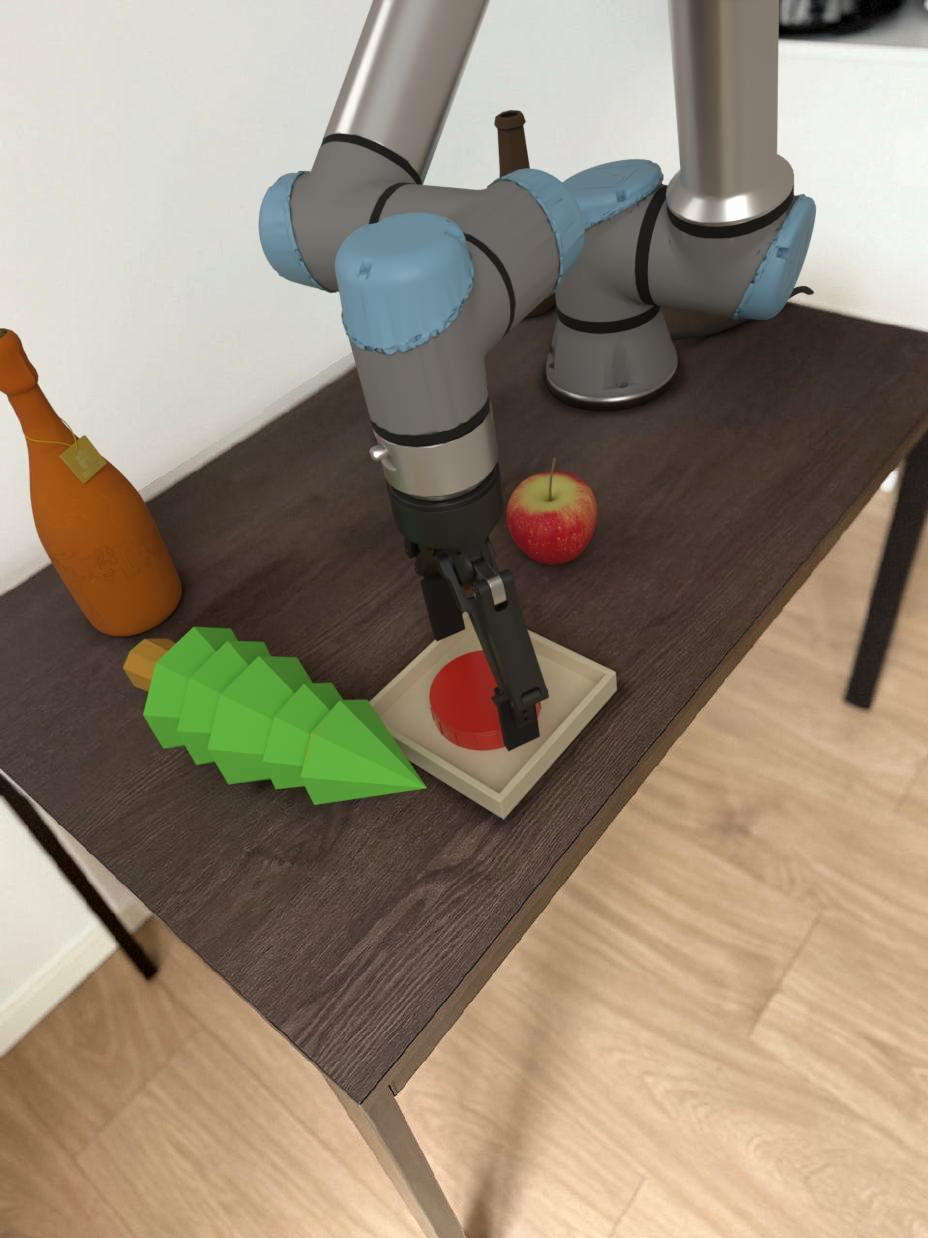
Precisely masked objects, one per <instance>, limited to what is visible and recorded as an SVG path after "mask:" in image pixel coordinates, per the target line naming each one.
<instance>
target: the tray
mask: <svg viewBox="0 0 928 1238" xmlns="http://www.w3.org/2000/svg"><path fill="white" fill-rule="evenodd" d="M462 615H463V620H464V625H465V630H463V631H460V632H458V633H456V634H453V635H451V636H449V637H447V638H444V639H442V640H440V641H436V640H435V639H434V640H433V641H432V642H431V643H430V644H429V645H427V647H426V648H425V649H424V650H423V651H421V652H420V653H419V654H418V655H417V656H416V657H415V658H414V659H413V660H412V661H411V662H409V663H408V664H407V665H406V666H405V668H404V669H402V670H401V671H400V672H399V673H398V674H396V676H395V677H394V678H393V679H392V680H391V681H390V682H388V683H387V684H386V685H385V686H384V687H383V688H382V689H381V690H380V691H379V692H378V693H376V695H375V696H374V697H373V698H371V699H370V700H369V703H370V704H371V706H372V707H373V709H374V710H375V712H376V713H377V715H378V716H379V718H380V719H381V721H382V722H383V724H384V725H385V727H386V728H387V730H388V731H389V733H390V734H391V736H392V737H393V739H394V740H395V741H396V743H397V744H398V746H399V747H400V749H401V750H402V752H403V753H404V755H405V756H406V758H407V759H408V761H409V762H410V763H411V764H414V765H415V766H417V767H419V768H420V769H422V770H423V771H425V772H427V773H428V774H430V775H431V776H433V777H435V778H436V779H437V780H440V781H441V782H443V783H444V784H446V785H448V786H449V787H451V788H452V789H454V790H456V791H457V792H458V793H460V794H462V795H464V796H465V797H467V798H469V800H472V801H473V802H475V803H476V804H478V805H480V806H481V807H483V808H484V809H486V810H487V811H489V812H491V813H492V814H494V815H496V816H497V817H499V818H501V819H502V820H505V819H506V818H507V816H508V815H510V814H511V812H512V811H513V810H514V809H515V807H516V806H517V805H518V804H519V803H520V802H521V800H522V799H524V797H525V796H526V795H527V794H528V793H529V791H530V790H531V789H532V788H533V787H534V786H535V785H536V783H537V782H538V781H539V780H540V779H541V778H542V776H543V775H545V773H546V772H547V771H548V770H549V769H550V768H551V766H552V765H553V764H554V763H555V762H556V761H557V760H558V759H559V757H560V756H561V755H562V754H563V752H565V750H566V749H567V748H568V747H569V746H570V745H571V744H572V742H573V741H574V740H575V739H576V738H577V737H578V736H579V734H580V733H581V732H582V731H583V730H584V729H585V728H586V726H587V725H588V724H589V723H590V722H591V721H592V719H593V718H594V717H595V716H596V715H597V714H598V713H599V711H600V710H601V709H602V708H603V707H604V706H605V704H607V703H608V701H609V700H610V699H611V698H612V697H613V696H614V695H615V693H616V692H617V690H618V685H617V681H618V680H617V672H616V671H615V670H613V669H610V668H609V667H607V666H604V665H602V664H600V663H598V662H596V661H594V660H592V659H590V658H588V657H585V656H584V655H581V654H579V653H577V652H575V651H573V650H571V649H569V648H567V647H565V646H563V645H561V644H558V643H557V642H555V641H552V640H550V639H549V638H546V637H544V636H542V635H540V634H538V633H536V632H533V631H531V630H529V629H527V630H528V633H529V636H530V639H531V642H532V645H533V648H534V651H535V654H536V657H537V660H538V663H539V666H540V669H541V672H542V675H543V679H544V682H545V685H546V687H547V689H548V694H549V698H547V699H545V700H543V701H541V709H540V714H539V717H538V725H539V732H540V737H538V738H536V739H534V740H532V741H530V742H528V743H526V744H523V745H521V746H519V747H517V748H515V749H513V750H511V751H509V752H508V750H507V749H506V747H503V748H499V749H494V750H485V751H477V750H470V749H466V748H462V747H459V746H457V745H455V744H453V743H452V742H450V741H449V740H447V739H446V738H445V737H444V736H443V735H441V733H440V731H439V730H438V728H437V726H436V724H435V721H434V720H433V717H432V713H431V709H430V707H431V705H430V699H429V694H430V688H431V684H432V682H433V680H434V678H435V677H436V675H437V674H438V672H439V671H440V670H441V669H442V668H443V667H444V666H445V665H446V664H448V663H449V662H450V661H452V660H454V659H455V658H457V657H459V656H461V655H464V654H467V653H470V652H474V651H479V650H483V649H482V647H481V644H480V642H479V640H478V637H477V635H476V632H475V630H474V627H473V625H472V622H471V620H470V618H469V615H468V613H467V612H464V611H463V612H462Z"/></svg>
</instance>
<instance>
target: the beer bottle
mask: <svg viewBox="0 0 928 1238" xmlns="http://www.w3.org/2000/svg"><path fill="white" fill-rule="evenodd" d="M526 123H527V121H526V118H525V114H524V113H523V111H521V110H518V109H509V110H504V111H502V112H500V113H498V114H497V115H496V116H495V117H494V123H493V125H494V127H495V128H496V130H497V147H498V149H497V151H498V167H499V168H498V169H499V174H498V175H499V176H498V178H501V177H503V176H506V175H507V174H509V173H512V172H514V171H516V170H519V169H531V167H530V160H529V154H528V153H529V152H528V145H527V139H526V133H525V127H524V125H525V124H526ZM554 305H556V296H555V292H554V293H553V294H552V295H551V296H549V297H548V298H545V299H544V300H543V301H542V302H541V303H540V304H539V305H538V306H537V307H535V308H534V309H533V310H532V311H531V312H530V313H529V314H528V315H527V316H526V317H525V318H524V319H526V318H527V319H528V318H531V317H535V316H539V315H545V314H546V313H547V312H548V311H549V310H551V308H552V307H553V306H554Z"/></svg>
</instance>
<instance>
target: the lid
mask: <svg viewBox="0 0 928 1238" xmlns="http://www.w3.org/2000/svg"><path fill="white" fill-rule="evenodd" d="M496 687H498V686H497V683H496V681H495V679H494V676H493V674H492V671H491V669H490V666H489V664H488V661H487V659H486V657H485V654H484V652H483V650H479V651H474V652H470V653H467V654H464V655H461V656H459V657H457V658H455V659H454V660H452V661H450V662H449V663H448V664H446V665H445V666H444V667H443V668H442V669H441V670H440V671H439V672H438V674H437V675H436V677H435V678H434V680H433V682H432V684H431V688H430V694H429V699H430V705H431V707H430V709H431V713H432V717H433V720H434V721H435V724H436V726H437V728H438V730H439V731H440V733H441V735H443V736H444V737H445V738H446V739H447V740H449V741H450V742H452V743H453V744H455V745H457V746H459V747H462V748H466V749H470V750H477V751H485V750H494V749H499V748H503V747H505V745H504V742H503V737H502V731H501V726H500V720H499V715H498V710H497V706H496V705H495V704H494V703H493V701H492V699H491V697H492V696H495V694H494V688H496ZM540 709H541V702H539V703H537V704H536V711H537V718H538V717H539V714H540Z"/></svg>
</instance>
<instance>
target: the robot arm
mask: <svg viewBox="0 0 928 1238" xmlns="http://www.w3.org/2000/svg"><path fill="white" fill-rule="evenodd" d="M490 2H491V0H372V2H371V5H370V7H369V10H368V12H367V16H366V18H365V21H364V24H363V26H362V29H361V33H360V34H359V38H358V41H357V44H356V46H355V49H354V52H353V55H352V57H351V60H350V62H349V65H348V68H347V71H346V74H345V77H344V79H343V81H342V82H343V83H342V84H341V88H340V90H339V94H338V96H337V99H336V101H335V104H334V107H333V110H332V112H331V115H330V118H329V121H328V124H327V126H326V130H325V131H324V134H323V138H322V141H321V144H320V146H319V148H318V151H317V153H316V156H315V159H314V161H313V165H312V167H311V170H298V171H297V172H289V173H285V174H283V175H281V176H280V177H279V178H277V180H276V181H275V182H274V183H273V184H272V185H271V186H269V187H268V188H267V190H266V191H265V194H264V195H263V198H262V201H261V204H260V208H259V213H258V224H257V225H258V227H257V228H258V235H259V241H260V245H261V249H262V252H263V255H264V257H265V258H266V261H267V262H268V264H269V265H270V266H271V268H272V269H273V270H274V271H275V272H276V273H277V274H278V276H279V277H281V278H283V279H285V280H287V281H289V282H291V283H295V284H298V285H302V286H305V287H309V288H314V289H318V290H320V291H322V292H323V291H324V292H326V293H329V294H337V293H338V294H339V301H340V306H341V313H340V314H341V315H340V317H341V323H342V326H343V328H344V331H345V335H346V336H347V338H348V341H349V345H350V349H351V351H352V355H353V360H354V363H355V367H356V370H357V374H358V379H359V382H360V386H361V388H362V393H363V396H364V401H365V404H366V408H367V411H368V416H369V420H370V424H371V426H372V431H373V435H374V437H375V439H376V443H377V445H374V446H372V447H370V448H369V451H368V452H369V454H370V458H371V460H372V461H374V462H380V463H381V467H382V471H383V474H384V475H383V476H384V478H385V480H386V491H387V496H388V499H389V503H390V507H391V511H392V515H393V519H394V522H395V525H396V528H397V530H398V531H399V532H400V533H401V535H402V536H403V537H404V543H403V544H404V553H405V554H406V556H407V557H408V558H409V559H413V558H415V561H414V564H413V565H414V571H415V573H416V574H417V575H418V576H419V577H420V578H421V577H423V579H421V580H419V583H420V587H421V590H422V594H423V600H424V603H425V608H426V611H427V615H428V619H429V624H430V628H431V632H432V633H431V634H432V636H433V639H434V640H436V641H440V640H442V639H444V638H447V637H449V636H451V635H453V634H456V633H458V632H460V631H463V630H465V625H464V620H463V615H462V614H463V613H464V612H467V613H468V615H469V618H470V620H471V622H472V625H473V627H474V630H475V632H476V635H477V637H478V640H479V642H480V644H481V647H482V649H483V652H484V654H485V657H486V659H487V661H488V664H489V666H490V669H491V671H492V674H493V676H494V679H495V681H496V683H497V686H498V687H496V688H494V694H495V696H492V697H491V699H492V701H493V703H494V704H495V705H496V706H497V710H498V715H499V720H500V726H501V731H502V737H503V742H504V745H505V747H506V749H507V750H508V752H509V751H511V750H513V749H515V748H517V747H519V746H521V745H523V744H526V743H528V742H530V741H532V740H534V739H536V738H538V737H540V732H539V725H538V718H537V711H536V704H537V703H539V702H541V701H543V700H545V699H547V698H549V694H548V689H547V687H546V685H545V682H544V679H543V675H542V672H541V669H540V666H539V663H538V660H537V657H536V654H535V651H534V648H533V645H532V642H531V639H530V636H529V633H528V630H529V629H528V627H527V624H526V621H525V618H524V614H523V612H522V608H521V606H520V603H519V598H518V592H517V587H516V581H515V575H514V574H513V573H512V572H511V570H510V569H509V568H504V569H502V570H499V568H498V567H499V566H498V565H497V563H496V556H497V554H496V551H495V548H494V546H493V543H492V541H491V539H490V537H489V536H490V534H491V533H492V531H493V530H494V529H495V527H497V525H498V524H499V522H500V520H501V519H502V516H503V514H504V510H505V496H504V489H503V484H502V483H503V481H502V475H501V468H500V464H499V462H498V461H499V460H498V457H499V446H498V441H497V435H496V434H497V433H496V427H495V419H494V413H493V405H492V400H491V399H490V393H489V388H488V381H487V380H488V379H487V371H486V362H485V361H486V356H487V354H488V353H489V352H490V351H491V350H492V349H494V347H496V345H497V344H498V343H499V342H500V341H501V340H502V339H504V338H505V336H506V335H507V334H508V333H509V332H511V331H512V330H513V329H514V328H515V327H516V326H518V324H519V323H520V322H521V321H523V320H524V319H526V318H525V317H526V316H527V315H528V314H529V313H530V312H531V311H532V310H533V309H534V308H535V307H537V306H538V305H539V304H540V303H541V302H542V301H543V300H544V299H545V298H548V297H549V296H551V295H552V294H553V293H554V292H555V296H556V303H555V305H556V318H557V319H556V324H555V328H554V332H553V335H552V337H551V340H550V343H549V346H548V350H547V353H546V355H547V359H546V364H545V375H546V376H545V377H546V384H547V387H548V389H549V391H550V393H551V394H552V395H553V396H554V397H556V398H557V399H558V400H559V401H561V402H562V403H565V404H567V405H570V406H573V407H576V408H580V409H586V410H592V411H617V410H623V409H630V408H634V407H637V406H641V405H643V404H644V405H645V404H646V403H649V402H651V401H653V400H655V399H657V398H658V397H660V396H662V395H663V394H664V393H666V392H667V391H668V390H669V389H671V387H672V386H673V385H674V383H675V381H676V379H677V377H678V354H677V350H676V348H675V345H674V343H673V342H674V341H681V340H687V339H698V338H704V337H707V336H711V335H714V334H718V333H721V332H724V331H726V330H729V329H731V328H734V327H737V326H739V325H742V324H745V323H746V322H749V321H751V320H757V321H767V320H770V319H772V318H774V317H776V316H777V315H778V314H779V313H780V312H781V311H782V310H783V309H784V307H785V306H786V304H787V303H788V301H789V300H790V299H792V298H793V297H795V296H796V295H798V294H805V295H807V296H811V295H813V294H815V291H814V290H813V289H812V288H811V287H809V286H806V285H799V286H796V285H797V282H798V279H799V277H800V275H801V272H802V269H803V266H804V263H805V261H806V257H807V256H808V255H807V254H808V251H809V247H810V244H811V240H812V237H813V233H814V228H815V223H816V218H817V217H816V216H817V205H816V202H815V200H814V199H813V198H812V197H810V196H807V195H806V194H805V193H800V194H797V195H795V174H794V173H795V171H794V169H793V166H792V164H790V161H788V160H787V159H786V158H785V157H783V156H782V155H780V154H779V153H778V126H779V125H778V123H779V122H778V120H779V119H778V118H779V116H778V115H779V114H778V111H779V38H780V37H779V35H780V34H779V33H780V31H779V30H780V26H779V25H780V23H779V22H780V0H667V13H668V25H669V26H668V27H669V39H670V51H671V65H672V77H673V91H674V105H675V116H676V131H677V144H678V156H679V157H678V159H679V170H678V171H677V172H676V173H675V174H674V175H673V176H672V178H671V179H670V181H669V182H668V184H664V183H663V181H664V173H663V172H662V168H661V166H660V165H659V164H658V163H657V162H653V161H652V160H649V159H644V158H630V159H629V158H628V159H622V160H621V159H620V160H615V161H609V162H605V163H601V164H598V165H595V166H591V167H589V168H586V169H584V170H581V171H579V172H577V173H574V174H573V175H572V176H569V177H568V178H566V179H565V180H564V181H561V180H560V179H559V178H557V176H554V175H553V174H551V173H548V172H547V171H544V170H541V169H537V168H530V169H519V170H516V171H514V172H512V173H509V174H507V175H506V176H503V177H501V178H499V177H497V178H495V179H494V180H493V181H492V182H491V183H489V184H488V185H487V186H486V188H482V189H471V188H463V187H462V188H461V187H452V186H440V185H427V184H425V180H426V178H427V175H428V172H429V170H430V167H431V164H432V161H433V158H434V156H435V153H436V150H437V147H438V145H439V142H440V140H441V136H442V134H443V132H444V128H445V126H446V123H447V120H448V117H449V115H450V112H451V109H452V107H453V104H454V101H455V98H456V96H457V93H458V90H459V87H460V84H461V83H462V80H463V76H464V74H465V71H466V68H467V65H468V62H469V60H470V57H471V54H472V51H473V49H474V46H475V43H476V40H477V37H478V35H479V32H480V30H481V27H482V24H483V21H484V18H485V17H486V13H487V11H488V8H489V6H490ZM662 308H667V309H674V310H680V311H687V312H694V313H699V314H705V315H712V316H717V317H724V318H731V320H729V321H726V322H723V323H720V324H717V325H714V326H710V327H707V328H704V329H699V330H692V331H691V330H690V331H682V332H681V331H680V332H675V333H670V331H669V328H668V325H667V322H666V319H665V315H664V314H663V313H664V312H663V309H662ZM470 590H473V593H472V596H470V597H468V598H467V597H466V596H465V593H464V592H468V591H470Z"/></svg>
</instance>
